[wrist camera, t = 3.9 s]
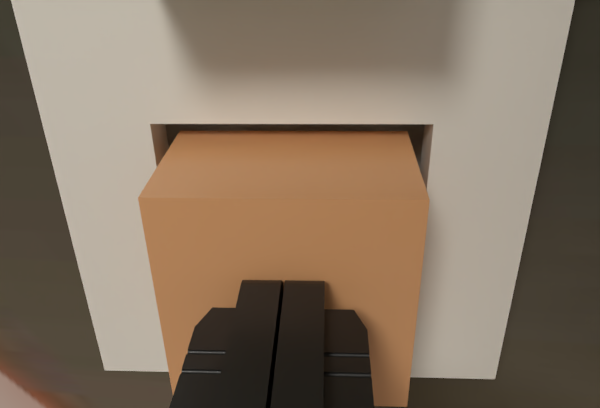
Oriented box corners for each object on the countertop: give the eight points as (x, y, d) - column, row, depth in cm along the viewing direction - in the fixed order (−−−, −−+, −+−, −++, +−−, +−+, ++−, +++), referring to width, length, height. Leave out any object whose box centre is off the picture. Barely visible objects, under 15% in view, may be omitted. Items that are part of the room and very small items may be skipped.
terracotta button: (180, 130, 12) (137, 197, 9) (407, 131, 12) (430, 200, 9) (202, 307, 14) (173, 400, 12) (392, 310, 14) (407, 406, 11)
